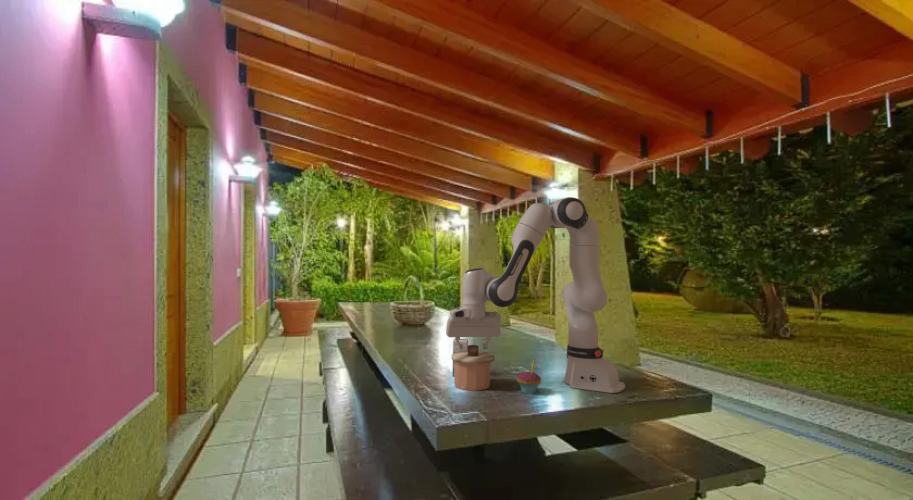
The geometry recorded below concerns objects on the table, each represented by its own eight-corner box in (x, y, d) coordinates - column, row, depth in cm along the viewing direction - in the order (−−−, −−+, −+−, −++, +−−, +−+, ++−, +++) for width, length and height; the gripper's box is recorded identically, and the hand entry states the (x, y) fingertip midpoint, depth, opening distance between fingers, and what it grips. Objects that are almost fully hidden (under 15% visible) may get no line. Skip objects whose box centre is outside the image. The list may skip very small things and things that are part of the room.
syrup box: (467, 373, 188) (468, 338, 188) (466, 377, 182) (467, 340, 183) (453, 373, 189) (454, 337, 189) (452, 377, 183) (452, 340, 183)
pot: (496, 384, 173) (496, 358, 173) (477, 392, 162) (477, 364, 162) (467, 378, 180) (468, 353, 181) (447, 386, 170) (448, 359, 170)
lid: (502, 358, 173) (502, 345, 173) (479, 365, 160) (479, 352, 160) (467, 352, 183) (467, 340, 183) (442, 359, 170) (443, 346, 170)
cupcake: (542, 390, 167) (542, 356, 167) (538, 396, 159) (539, 361, 159) (518, 387, 170) (519, 354, 170) (513, 393, 162) (514, 359, 162)
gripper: (498, 310, 176) (498, 346, 176) (445, 310, 173) (445, 347, 173) (502, 312, 170) (502, 350, 170) (448, 312, 167) (447, 351, 167)
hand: (473, 348), depth 171 cm, fingers open, 8 cm apart
